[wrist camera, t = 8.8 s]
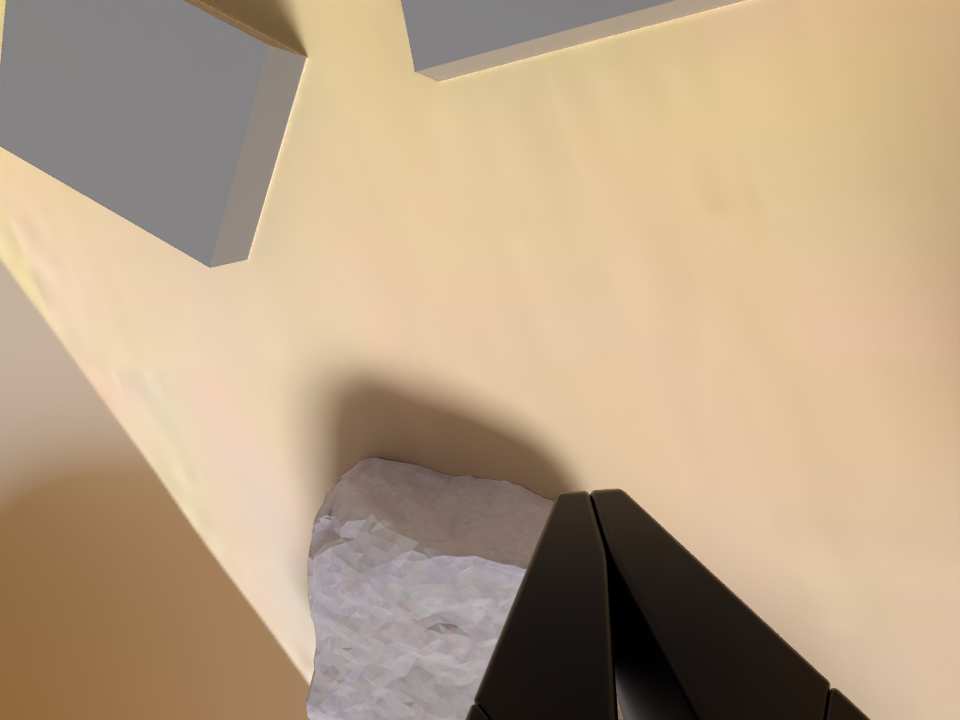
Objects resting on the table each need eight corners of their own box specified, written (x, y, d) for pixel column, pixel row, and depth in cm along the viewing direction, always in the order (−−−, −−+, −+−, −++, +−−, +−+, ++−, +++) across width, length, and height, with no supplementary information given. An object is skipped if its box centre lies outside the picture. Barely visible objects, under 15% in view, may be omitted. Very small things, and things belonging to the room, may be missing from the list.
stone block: (603, 472, 22) (339, 437, 22) (623, 560, 17) (290, 514, 18) (555, 700, 26) (334, 667, 26) (560, 817, 22) (294, 776, 22)
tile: (269, 45, 16) (14, -89, 17) (210, 267, 19) (-7, 142, 20) (315, 59, 18) (87, -60, 19) (256, 257, 21) (59, 144, 22)
